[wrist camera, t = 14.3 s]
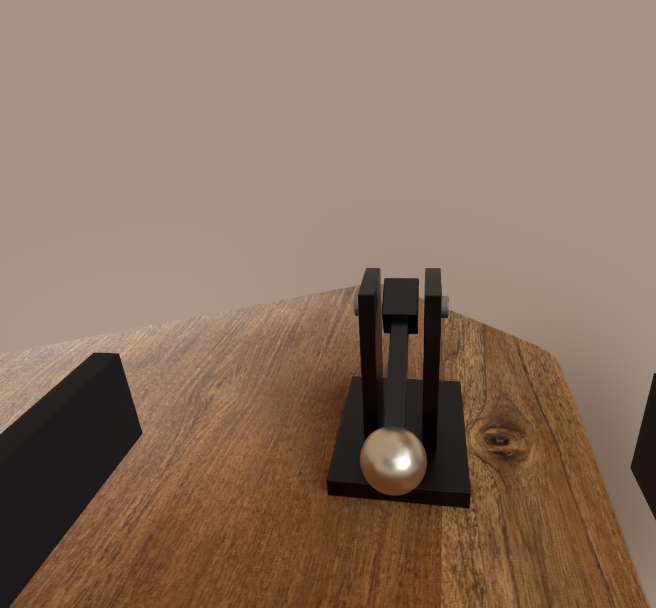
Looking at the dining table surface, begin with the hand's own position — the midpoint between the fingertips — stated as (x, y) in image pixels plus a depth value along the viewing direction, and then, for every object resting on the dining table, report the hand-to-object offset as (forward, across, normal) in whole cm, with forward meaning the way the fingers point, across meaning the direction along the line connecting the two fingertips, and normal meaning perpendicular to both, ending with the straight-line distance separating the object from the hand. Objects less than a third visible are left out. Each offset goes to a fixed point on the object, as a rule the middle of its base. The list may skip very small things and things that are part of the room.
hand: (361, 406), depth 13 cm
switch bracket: (+19, 0, -18) cm, 26 cm away
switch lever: (+16, 0, -11) cm, 19 cm away
